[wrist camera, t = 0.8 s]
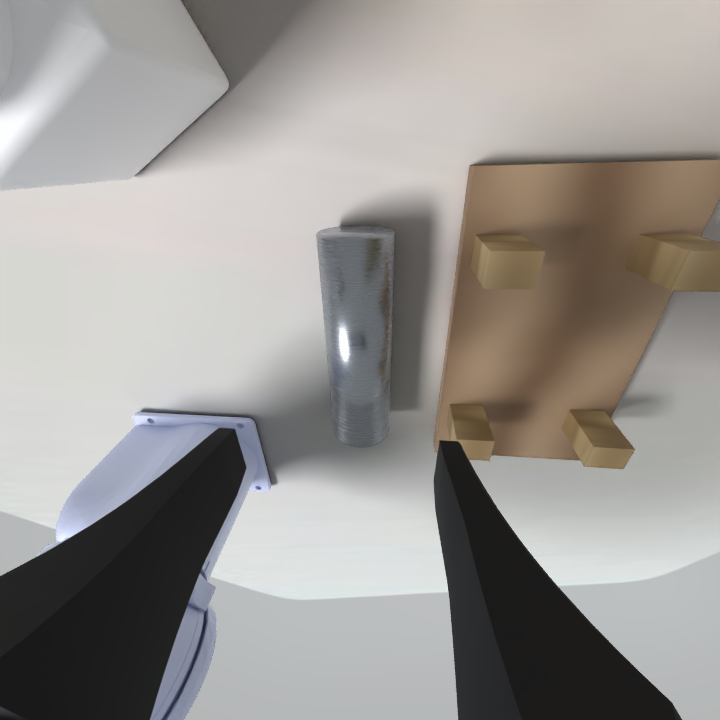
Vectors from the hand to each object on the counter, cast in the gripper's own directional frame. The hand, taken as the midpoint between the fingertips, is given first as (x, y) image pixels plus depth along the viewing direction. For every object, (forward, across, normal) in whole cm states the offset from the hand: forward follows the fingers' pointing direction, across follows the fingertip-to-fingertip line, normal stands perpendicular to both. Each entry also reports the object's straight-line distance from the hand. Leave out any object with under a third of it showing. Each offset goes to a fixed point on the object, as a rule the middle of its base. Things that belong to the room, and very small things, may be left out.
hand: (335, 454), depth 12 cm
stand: (+9, -10, 0) cm, 14 cm away
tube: (+10, 0, 0) cm, 10 cm away
